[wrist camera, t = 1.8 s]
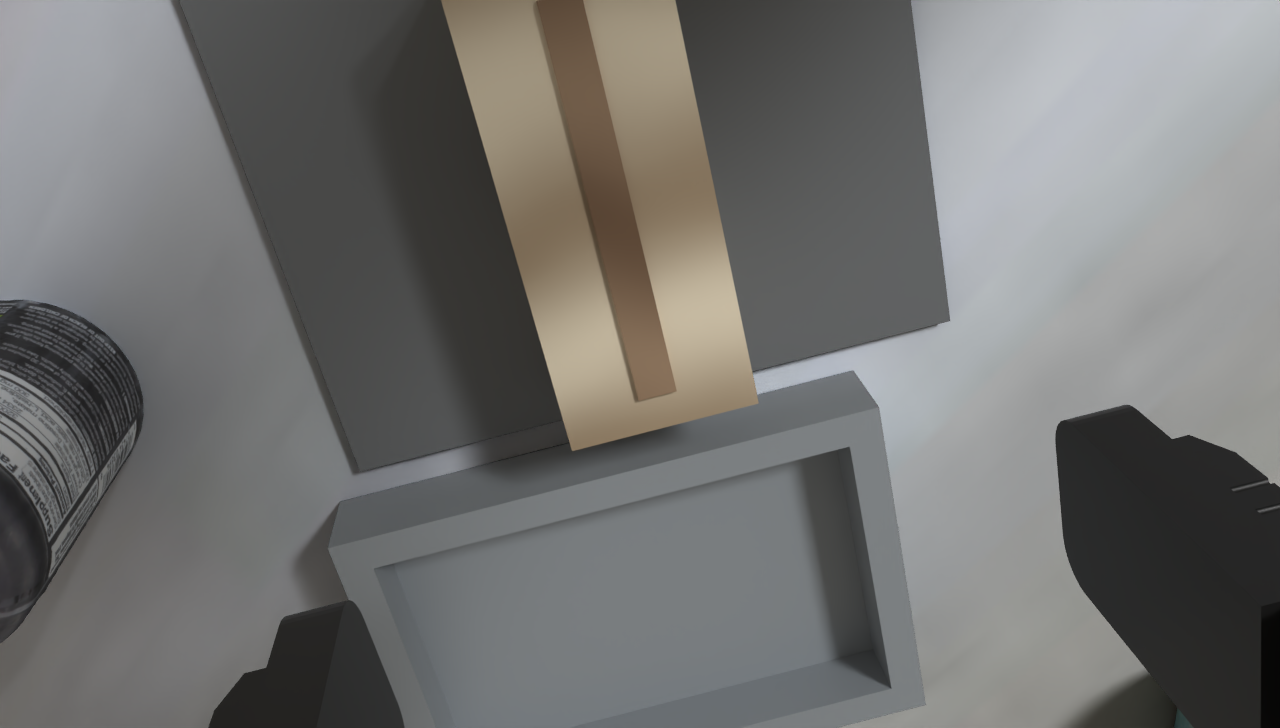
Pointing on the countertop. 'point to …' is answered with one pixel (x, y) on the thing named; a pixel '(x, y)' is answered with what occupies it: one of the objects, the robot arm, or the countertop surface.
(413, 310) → the rubber mat
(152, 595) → the countertop surface
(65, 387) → the pill bottle
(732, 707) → the slate tray
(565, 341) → the wooden block
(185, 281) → the countertop surface
